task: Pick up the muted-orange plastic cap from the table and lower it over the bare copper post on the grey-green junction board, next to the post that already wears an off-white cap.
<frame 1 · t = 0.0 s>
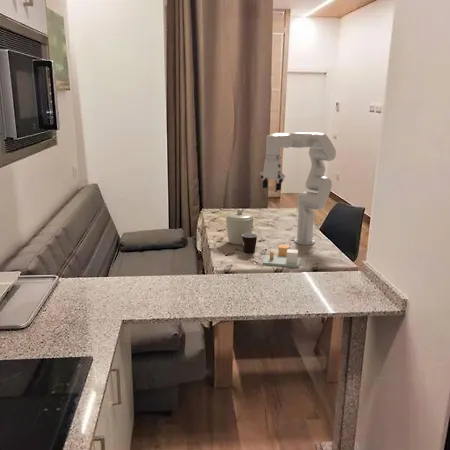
hand: (271, 189, 247), 37 cm above the table, tool pointing down, fingers open, 9 cm apart
junction board: (281, 262, 242), on the table
orange cap: (283, 255, 253), on the table
canister: (239, 242, 276), on the table
coffee mug: (249, 251, 260), on the table
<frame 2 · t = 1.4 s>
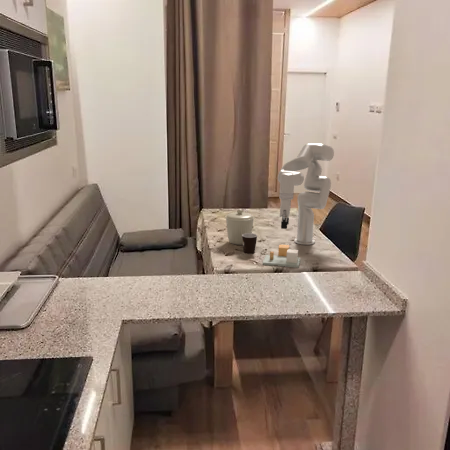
hand: (284, 226, 248), 17 cm above the table, tool pointing down, fingers open, 9 cm apart
nothing on the table moved.
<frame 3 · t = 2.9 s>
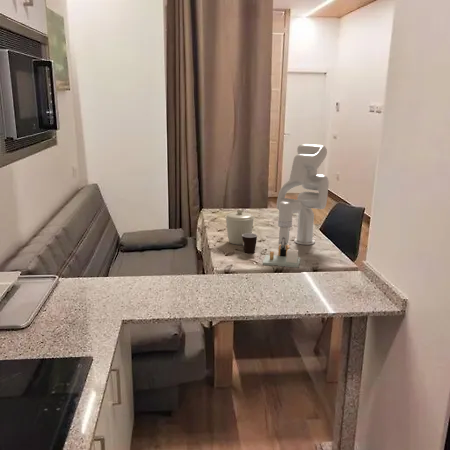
hand: (283, 253, 252), 1 cm above the table, tool pointing down, fingers open, 8 cm apart
nothing on the table moved.
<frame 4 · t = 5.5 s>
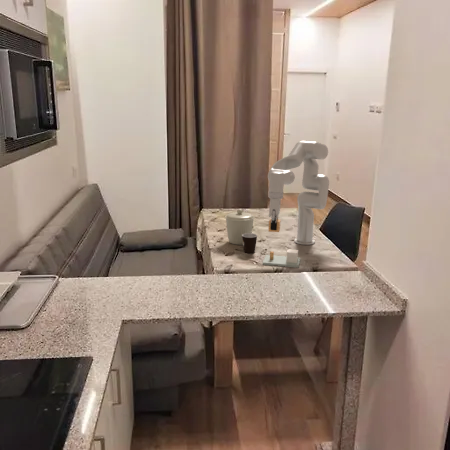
hand: (274, 228, 240), 18 cm above the table, tool pointing down, fingers closed on orange cap, 5 cm apart
orange cap: (274, 230, 240), point 17 cm above the table, touching gripper
everything else where it was.
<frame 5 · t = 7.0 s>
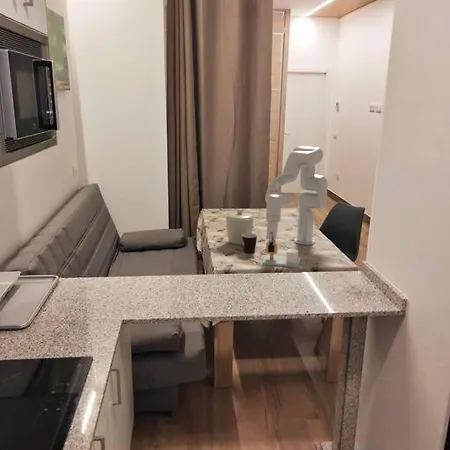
hand: (271, 250, 242), 6 cm above the table, tool pointing down, fingers closed on orange cap, 5 cm apart
orange cap: (271, 252, 242), point 5 cm above the table, touching gripper
everything else where it was.
when the fingers open (3 cm above the table, at t = 8.0 s): orange cap stays where it is, resting on junction board.
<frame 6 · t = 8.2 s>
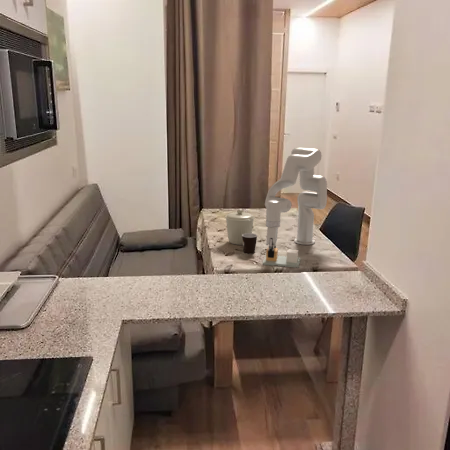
hand: (271, 254, 243), 4 cm above the table, tool pointing down, fingers open, 7 cm apart
orange cap: (271, 259, 243), point 1 cm above the table, touching junction board
everything else where it was.
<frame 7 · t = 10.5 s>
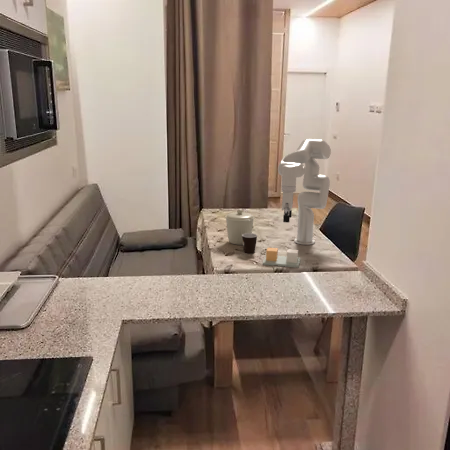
hand: (287, 219, 241), 22 cm above the table, tool pointing down, fingers open, 9 cm apart
nothing on the table moved.
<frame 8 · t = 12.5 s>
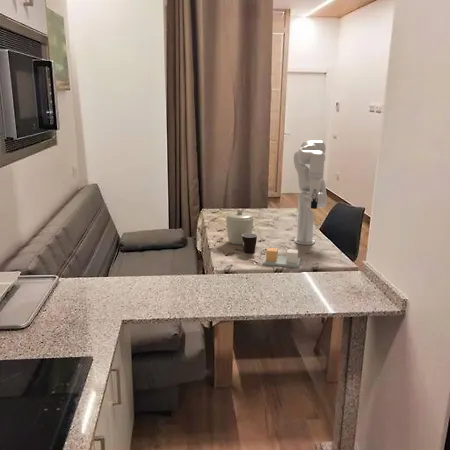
hand: (314, 206, 246), 28 cm above the table, tool pointing down, fingers open, 9 cm apart
nothing on the table moved.
at the end: orange cap 0.1 cm from the target spot on the junction board, point 1.2 cm above the junction board's base; orange cap tilted 0°; the gripper is holding nothing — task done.
